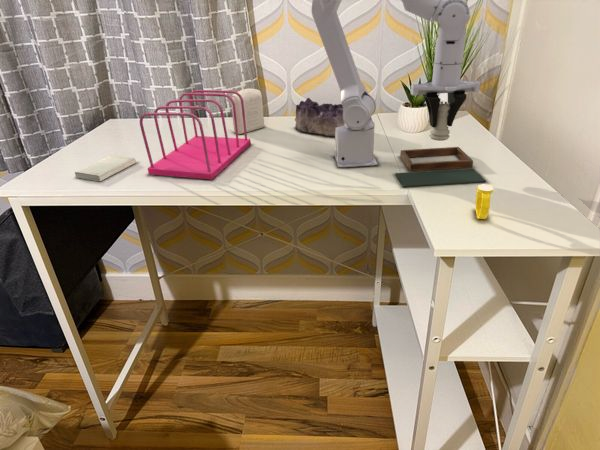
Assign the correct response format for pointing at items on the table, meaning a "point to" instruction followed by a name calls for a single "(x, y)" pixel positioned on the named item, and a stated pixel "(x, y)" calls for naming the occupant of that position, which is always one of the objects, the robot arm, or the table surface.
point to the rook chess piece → (441, 124)
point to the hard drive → (105, 168)
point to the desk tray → (462, 163)
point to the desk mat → (439, 177)
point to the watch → (483, 200)
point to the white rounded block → (248, 110)
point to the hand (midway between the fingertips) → (440, 125)
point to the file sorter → (197, 142)
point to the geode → (318, 117)
